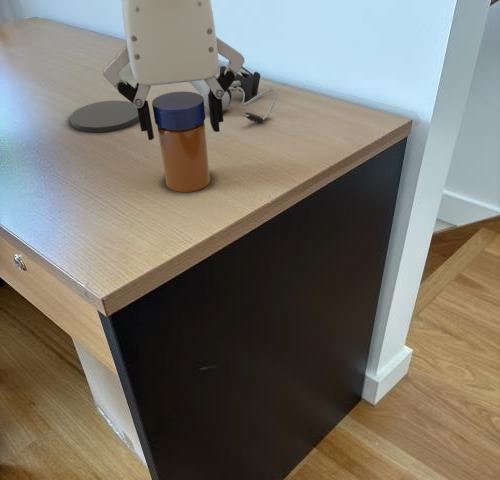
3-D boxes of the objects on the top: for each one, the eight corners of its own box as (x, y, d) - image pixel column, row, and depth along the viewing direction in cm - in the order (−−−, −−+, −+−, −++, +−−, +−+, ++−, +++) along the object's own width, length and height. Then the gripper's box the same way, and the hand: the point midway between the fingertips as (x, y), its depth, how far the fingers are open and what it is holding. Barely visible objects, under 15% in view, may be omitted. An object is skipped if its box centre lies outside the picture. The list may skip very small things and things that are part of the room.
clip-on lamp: (288, 132, 88) (236, 80, 96) (297, 96, 83) (241, 45, 91) (230, 143, 83) (179, 87, 91) (235, 106, 78) (182, 50, 86)
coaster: (89, 138, 82) (88, 133, 81) (60, 117, 89) (58, 112, 88) (154, 118, 87) (154, 113, 86) (121, 100, 94) (120, 95, 93)
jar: (181, 196, 67) (170, 120, 60) (158, 180, 70) (145, 106, 64) (218, 182, 69) (212, 107, 63) (194, 167, 73) (185, 94, 66)
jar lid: (188, 106, 67) (186, 87, 66) (215, 120, 64) (213, 101, 62) (146, 118, 65) (142, 99, 63) (171, 134, 61) (168, 114, 59)
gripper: (236, -48, 57) (243, 113, 69) (77, -36, 54) (113, 128, 67) (251, -38, 51) (255, 135, 64) (75, -24, 49) (114, 152, 61)
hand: (182, 131), depth 65 cm, fingers open, 7 cm apart
